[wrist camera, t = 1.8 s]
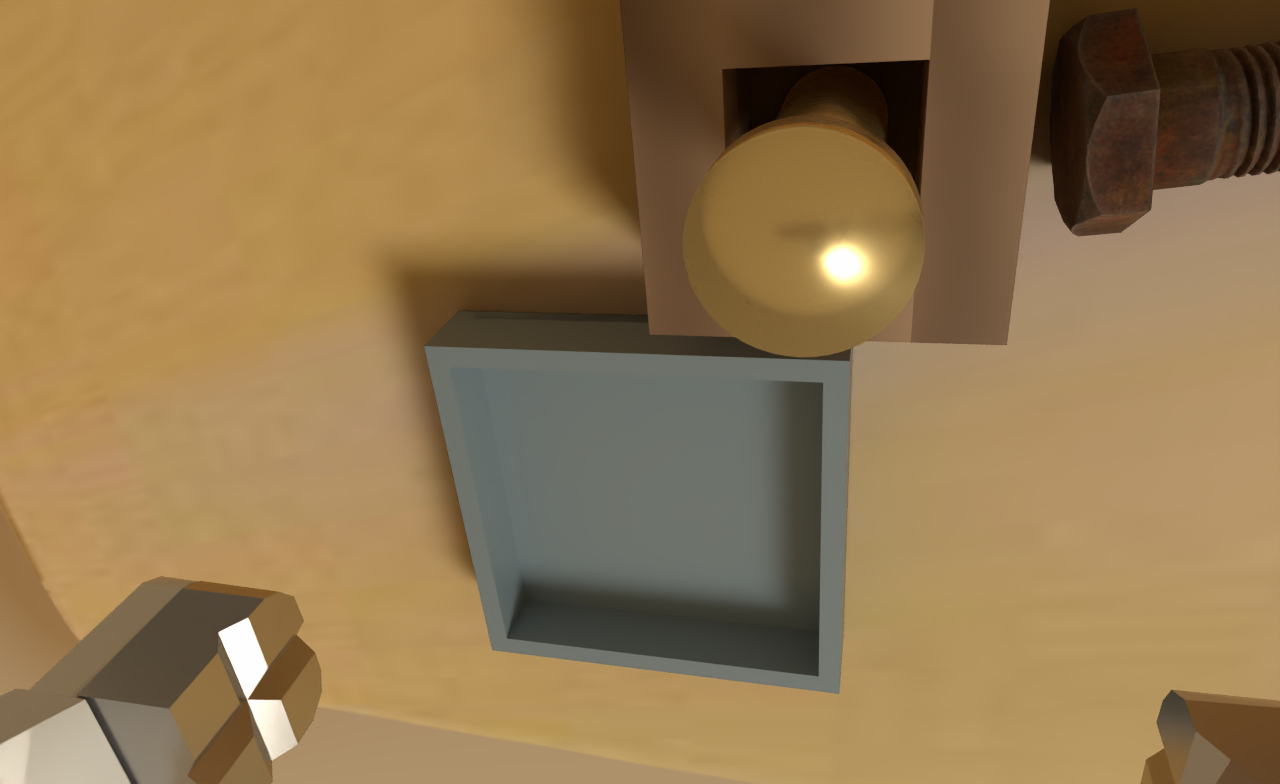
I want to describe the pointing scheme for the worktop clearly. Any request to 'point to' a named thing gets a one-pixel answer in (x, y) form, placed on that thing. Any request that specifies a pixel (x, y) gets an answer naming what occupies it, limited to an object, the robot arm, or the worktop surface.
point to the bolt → (1153, 120)
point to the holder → (946, 145)
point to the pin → (808, 223)
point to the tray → (650, 494)
